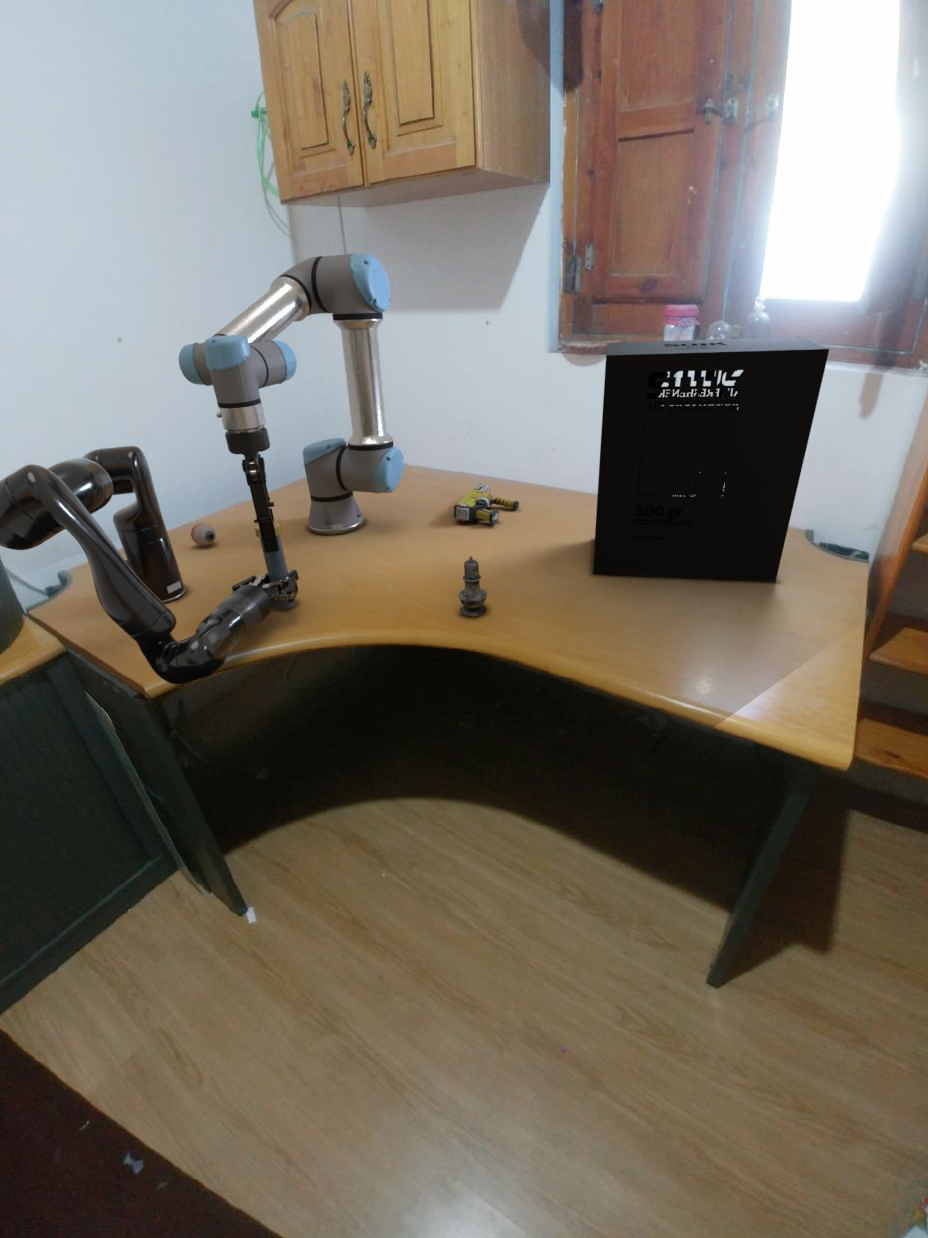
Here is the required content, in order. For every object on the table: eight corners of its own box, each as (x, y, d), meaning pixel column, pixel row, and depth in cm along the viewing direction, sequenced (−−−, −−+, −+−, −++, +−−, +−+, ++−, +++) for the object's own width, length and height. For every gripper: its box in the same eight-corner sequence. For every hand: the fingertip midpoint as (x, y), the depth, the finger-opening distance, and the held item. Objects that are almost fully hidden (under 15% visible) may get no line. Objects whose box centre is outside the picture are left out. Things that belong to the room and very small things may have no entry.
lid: (253, 539, 119) (251, 530, 118) (260, 530, 123) (258, 521, 122) (278, 537, 119) (276, 528, 118) (284, 528, 123) (282, 519, 122)
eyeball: (204, 551, 157) (198, 529, 154) (189, 547, 160) (183, 525, 157) (223, 542, 162) (217, 521, 159) (208, 539, 165) (202, 518, 162)
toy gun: (527, 488, 179) (479, 481, 183) (505, 513, 159) (452, 504, 162) (525, 503, 181) (478, 496, 185) (503, 529, 161) (451, 520, 165)
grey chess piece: (485, 617, 120) (483, 562, 114) (456, 616, 121) (452, 561, 115) (490, 603, 125) (488, 550, 119) (462, 602, 126) (459, 549, 120)
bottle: (286, 599, 132) (269, 523, 123) (298, 603, 130) (282, 526, 121) (271, 606, 129) (253, 529, 120) (284, 611, 127) (266, 533, 118)
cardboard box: (755, 543, 144) (798, 336, 121) (775, 581, 127) (829, 348, 104) (594, 538, 151) (606, 342, 129) (592, 573, 134) (606, 355, 112)
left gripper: (271, 597, 111) (313, 558, 125) (204, 592, 114) (252, 555, 128) (280, 632, 114) (319, 590, 129) (214, 626, 118) (260, 586, 132)
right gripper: (226, 421, 118) (253, 531, 129) (221, 442, 102) (252, 566, 114) (265, 416, 119) (288, 526, 131) (267, 437, 104) (293, 559, 115)
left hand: (285, 573), depth 128 cm, fingers closed on bottle, 4 cm apart
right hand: (271, 544), depth 122 cm, fingers open, 6 cm apart
